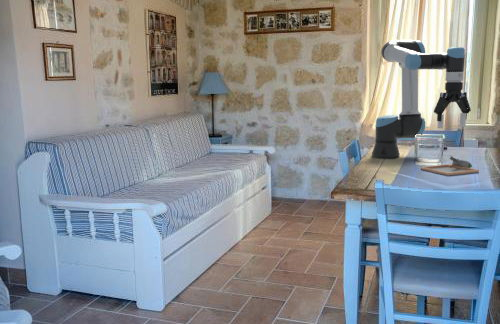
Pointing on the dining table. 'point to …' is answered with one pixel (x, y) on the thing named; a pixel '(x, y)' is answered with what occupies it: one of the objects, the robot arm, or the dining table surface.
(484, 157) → the dining table surface
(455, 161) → the mechanical component
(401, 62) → the robot arm
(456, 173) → the wooden square frame
